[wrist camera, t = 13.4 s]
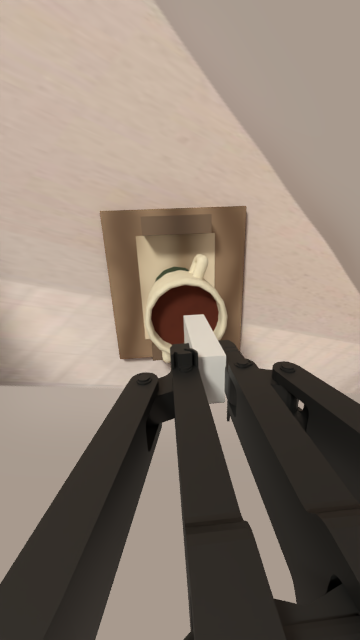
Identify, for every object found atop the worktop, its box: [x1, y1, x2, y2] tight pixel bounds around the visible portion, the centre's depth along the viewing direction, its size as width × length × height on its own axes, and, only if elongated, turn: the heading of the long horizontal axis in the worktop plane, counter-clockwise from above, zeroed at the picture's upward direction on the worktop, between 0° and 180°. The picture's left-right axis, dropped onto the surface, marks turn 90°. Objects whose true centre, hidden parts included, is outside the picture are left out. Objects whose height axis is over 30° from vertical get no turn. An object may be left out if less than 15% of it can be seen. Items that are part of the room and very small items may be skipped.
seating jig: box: [100, 206, 246, 361], centre depth 32 cm, size 18×20×4 cm
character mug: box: [145, 254, 228, 363], centre depth 26 cm, size 11×7×13 cm, turn 161°
